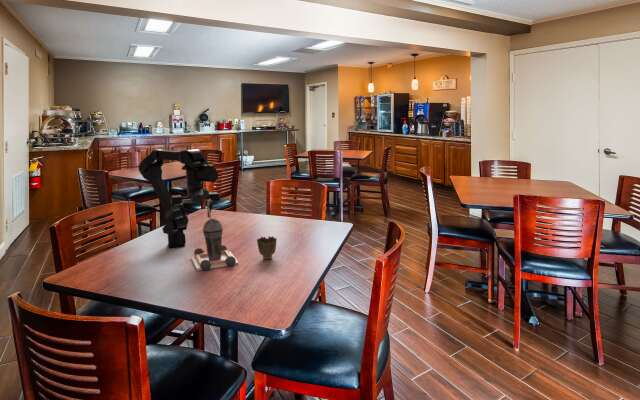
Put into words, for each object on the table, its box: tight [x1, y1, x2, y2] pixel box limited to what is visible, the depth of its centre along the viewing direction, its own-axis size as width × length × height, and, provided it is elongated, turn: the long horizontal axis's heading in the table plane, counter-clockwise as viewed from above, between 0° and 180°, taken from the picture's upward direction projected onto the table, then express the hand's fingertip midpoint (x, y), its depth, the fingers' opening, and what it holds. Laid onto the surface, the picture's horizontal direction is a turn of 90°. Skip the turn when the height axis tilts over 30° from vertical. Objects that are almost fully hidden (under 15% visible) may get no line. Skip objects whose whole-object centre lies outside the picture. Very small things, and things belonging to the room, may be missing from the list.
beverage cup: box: [202, 208, 224, 261], centre depth 156 cm, size 7×7×20 cm
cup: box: [256, 235, 277, 261], centre depth 160 cm, size 8×7×8 cm
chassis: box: [190, 244, 240, 271], centre depth 158 cm, size 15×16×4 cm
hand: (196, 218), depth 171 cm, fingers open, 9 cm apart
